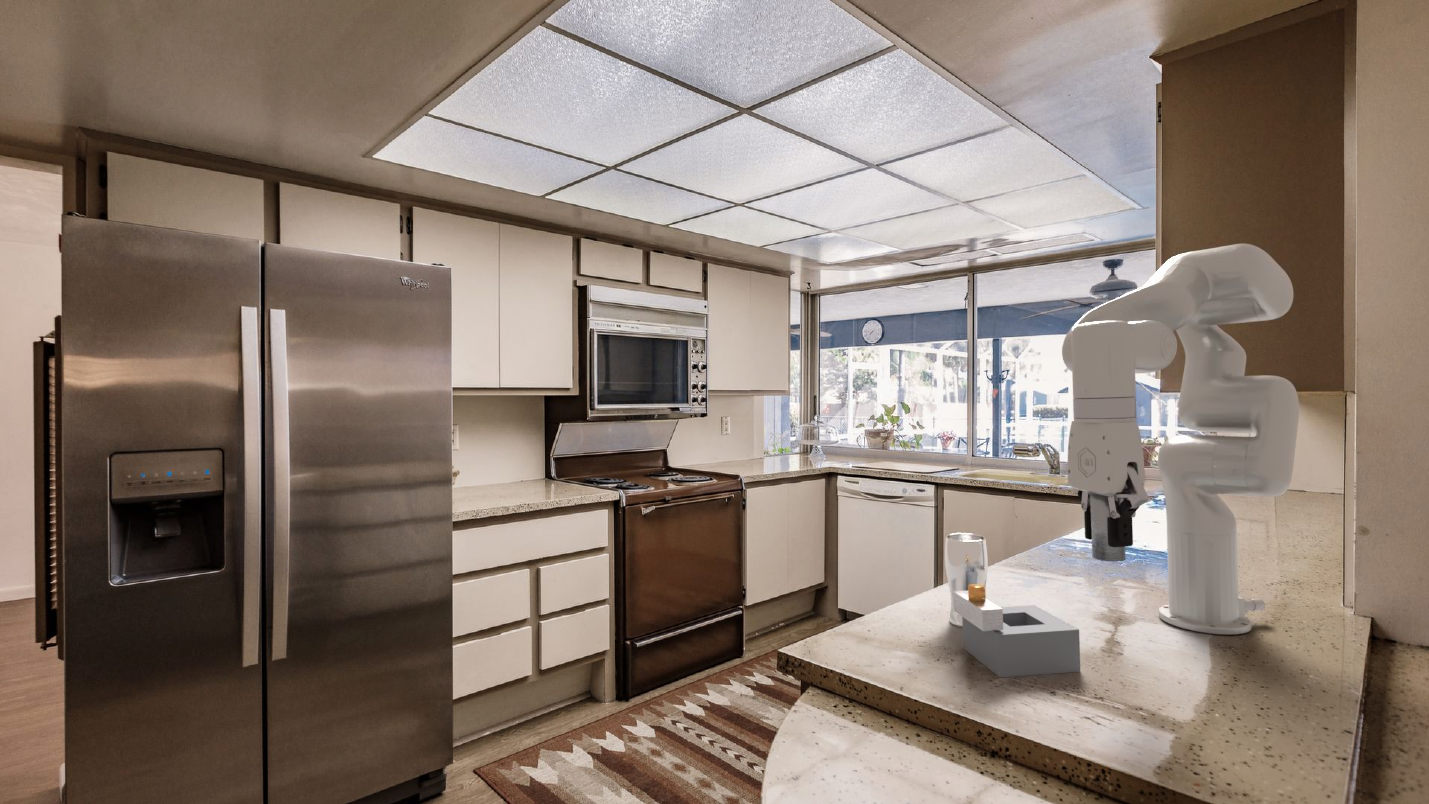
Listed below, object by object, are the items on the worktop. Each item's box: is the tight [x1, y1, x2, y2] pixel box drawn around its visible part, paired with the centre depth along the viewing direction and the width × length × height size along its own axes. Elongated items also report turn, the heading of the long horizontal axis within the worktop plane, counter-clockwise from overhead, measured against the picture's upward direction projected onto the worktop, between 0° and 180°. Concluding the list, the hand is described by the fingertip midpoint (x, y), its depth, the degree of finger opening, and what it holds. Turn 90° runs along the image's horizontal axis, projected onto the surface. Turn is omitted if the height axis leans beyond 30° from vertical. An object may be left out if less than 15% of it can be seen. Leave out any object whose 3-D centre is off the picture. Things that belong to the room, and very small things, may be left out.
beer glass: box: [944, 532, 989, 629], centre depth 114 cm, size 7×7×15 cm
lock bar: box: [954, 584, 1003, 631], centre depth 97 cm, size 3×9×5 cm, turn 5°
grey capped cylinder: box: [1086, 489, 1127, 563], centre depth 91 cm, size 5×5×10 cm
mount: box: [962, 604, 1081, 678], centre depth 98 cm, size 12×11×6 cm
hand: (1108, 541), depth 91 cm, fingers closed on grey capped cylinder, 4 cm apart
